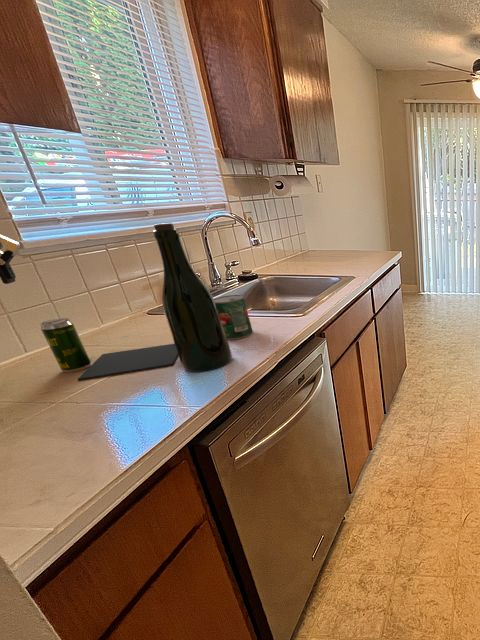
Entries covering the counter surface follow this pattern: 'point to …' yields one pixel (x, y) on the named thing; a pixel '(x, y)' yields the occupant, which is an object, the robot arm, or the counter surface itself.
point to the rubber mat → (131, 361)
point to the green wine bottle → (189, 307)
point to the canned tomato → (234, 316)
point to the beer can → (65, 344)
